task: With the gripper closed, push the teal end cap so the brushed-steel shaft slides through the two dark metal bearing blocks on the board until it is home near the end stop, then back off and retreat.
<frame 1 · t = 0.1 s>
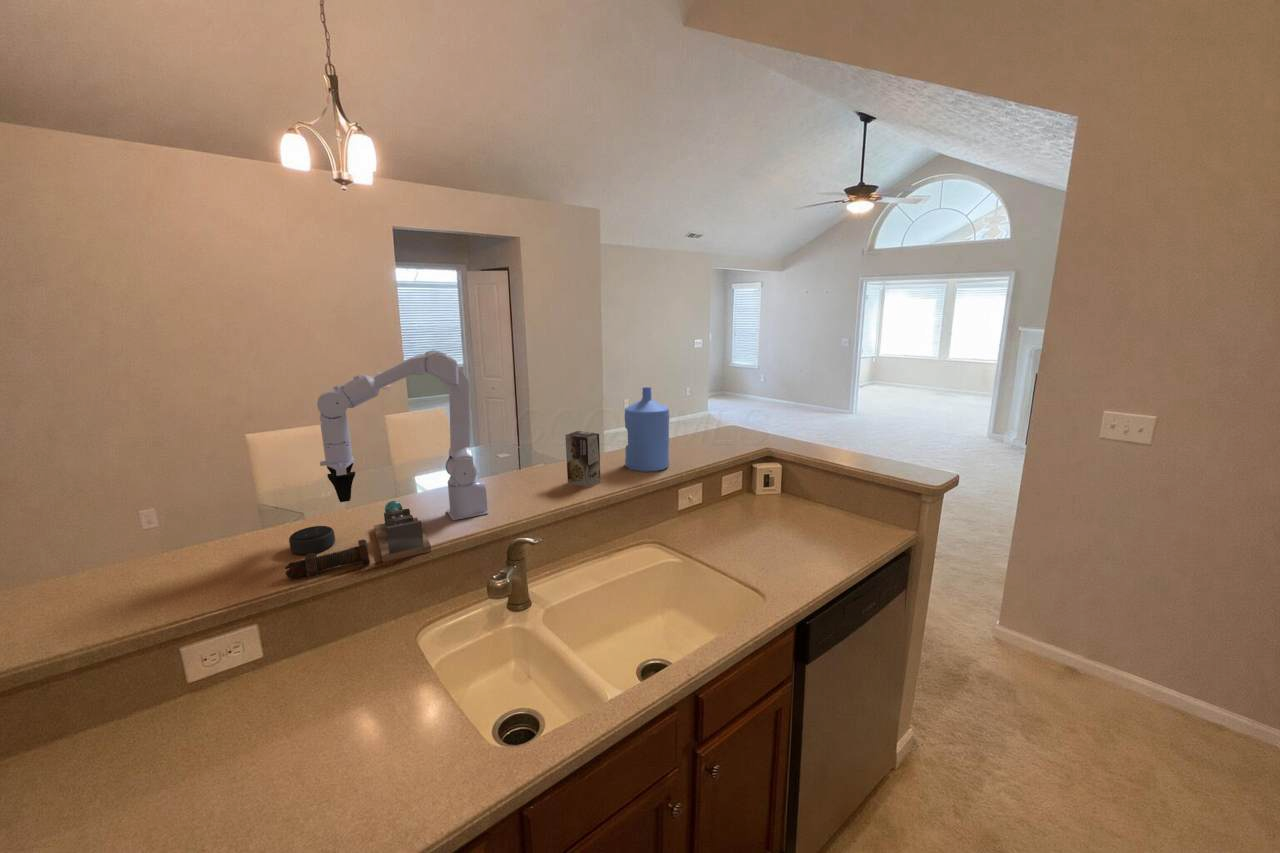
hand: (344, 496, 126), 10 cm above the worktop, tool pointing down, fingers open, 7 cm apart
shaft: (396, 517, 128), point 4 cm above the worktop, slide at 0.0 cm
bearing rig: (401, 540, 125), on the worktop
bolt: (330, 572, 110), on the worktop
coffee box: (584, 483, 167), on the worktop
water jug: (647, 466, 185), on the worktop
smart speaker: (313, 549, 121), on the worktop
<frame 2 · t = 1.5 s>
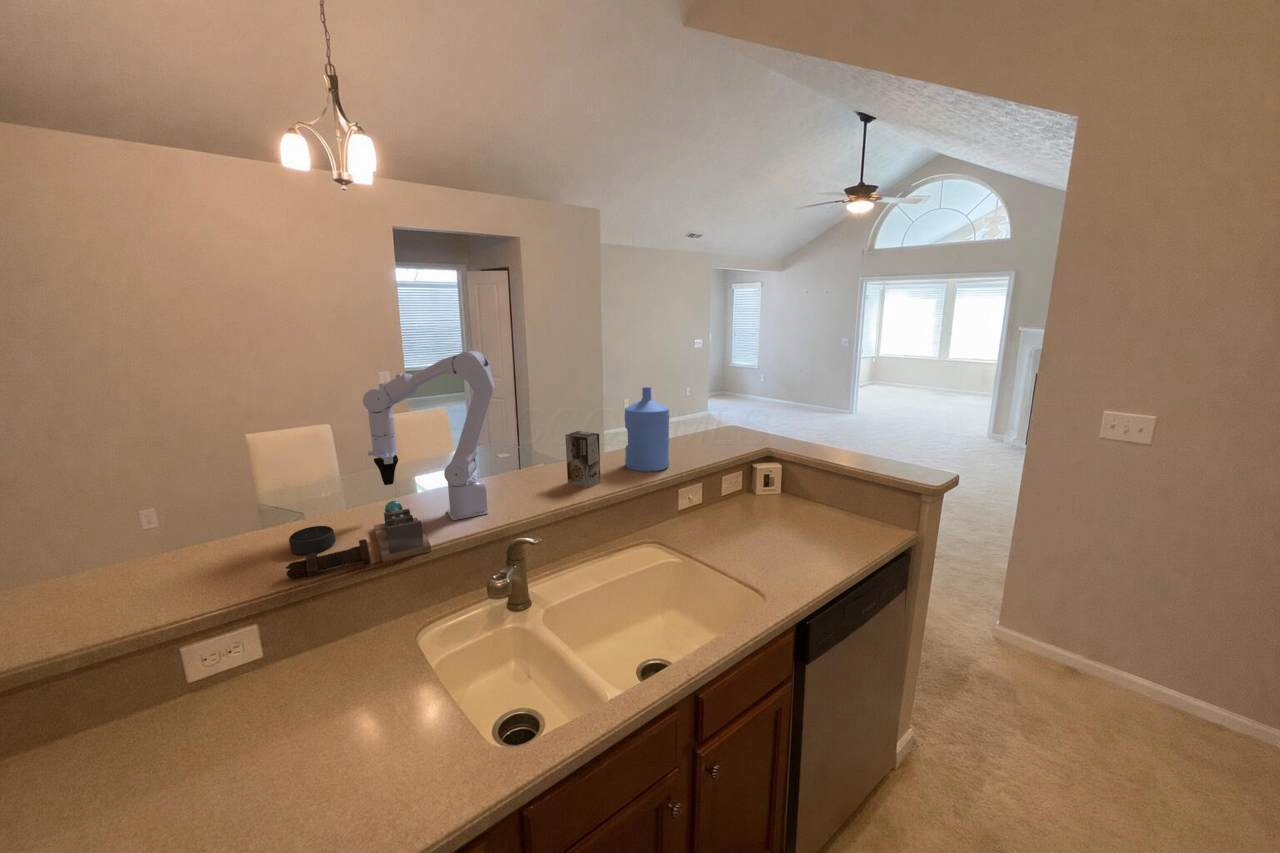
hand: (388, 484, 138), 9 cm above the worktop, tool pointing down, fingers closed
nothing on the worktop moved.
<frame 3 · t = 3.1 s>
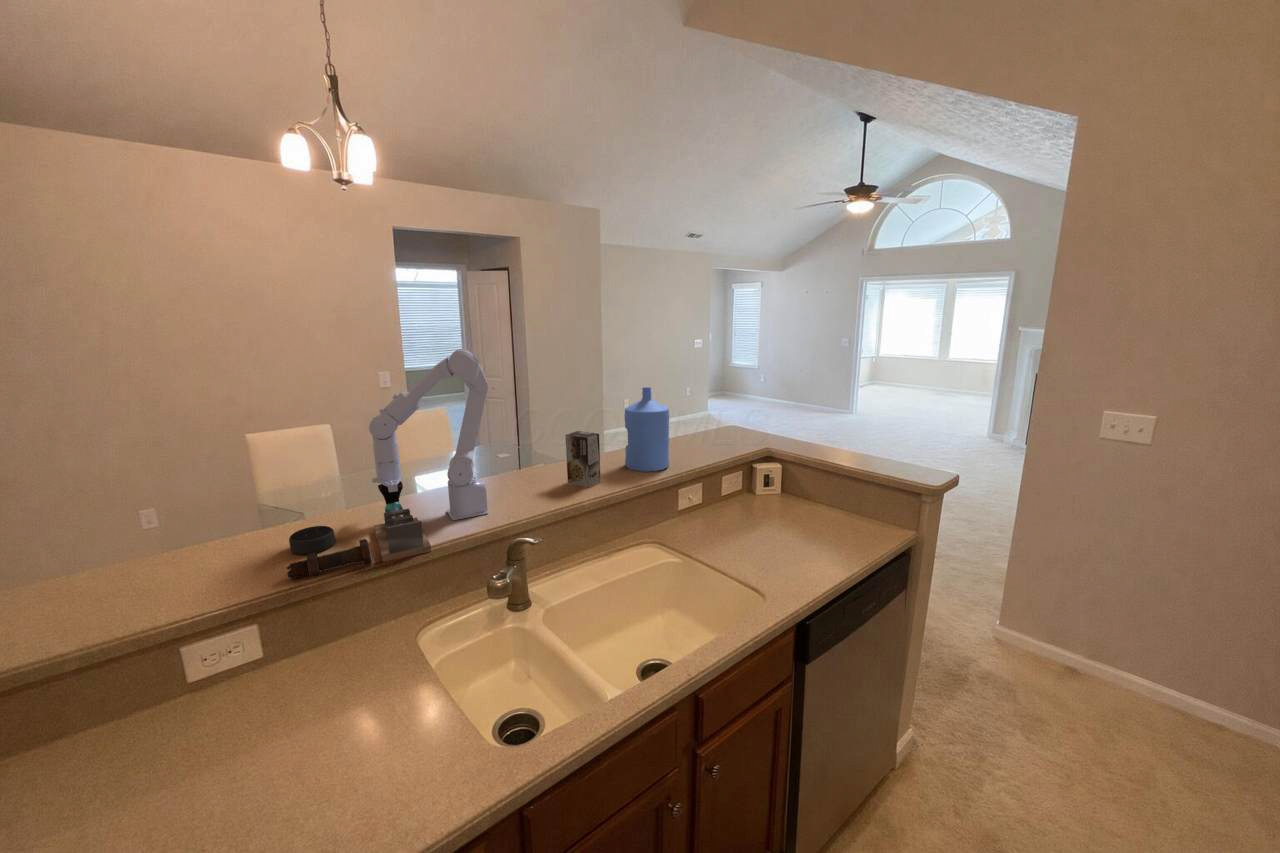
hand: (393, 510, 136), 3 cm above the worktop, tool pointing down, fingers closed
shaft: (397, 518, 128), point 4 cm above the worktop, slide at 0.2 cm, touching gripper
everything else where it was.
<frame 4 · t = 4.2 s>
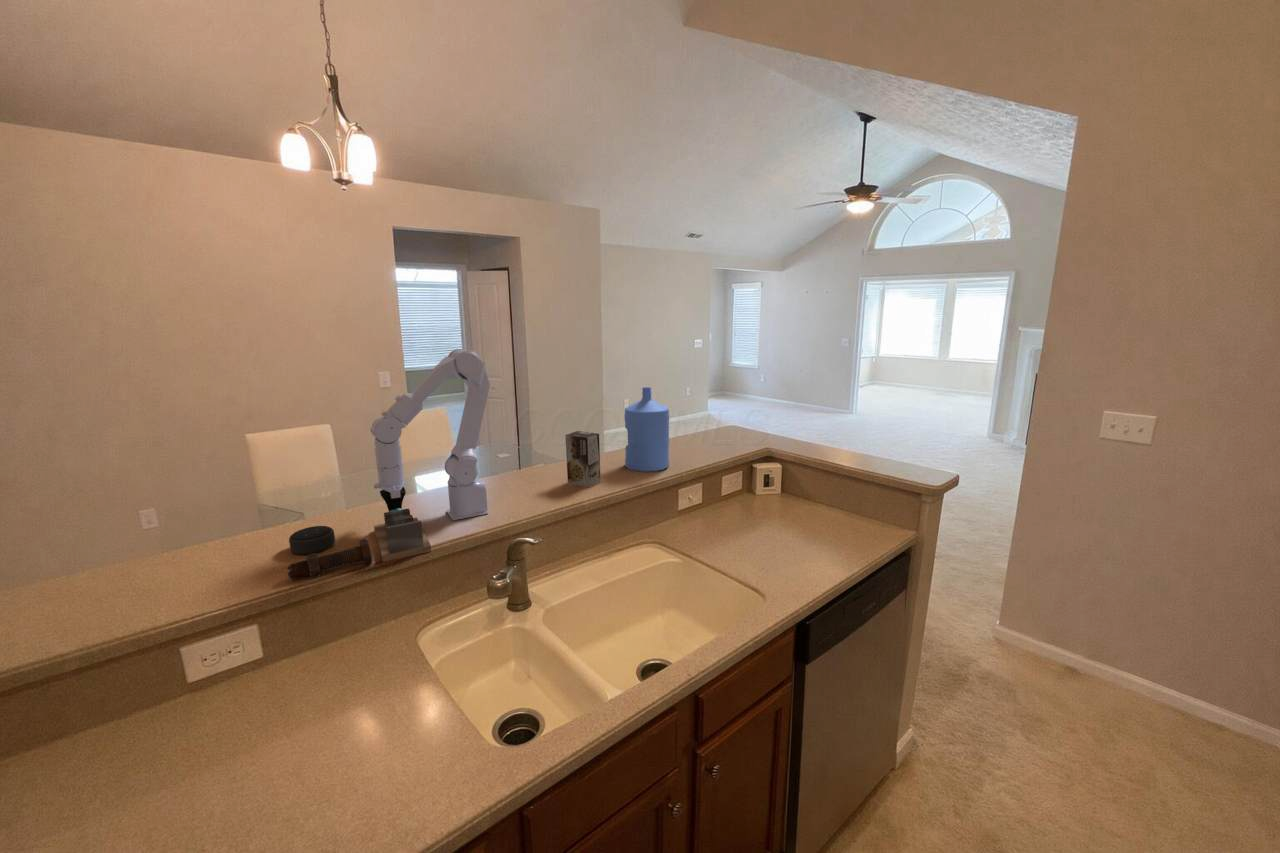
hand: (395, 517, 132), 3 cm above the worktop, tool pointing down, fingers closed
shaft: (399, 525, 124), point 4 cm above the worktop, slide at 5.6 cm, touching gripper
everything else where it was.
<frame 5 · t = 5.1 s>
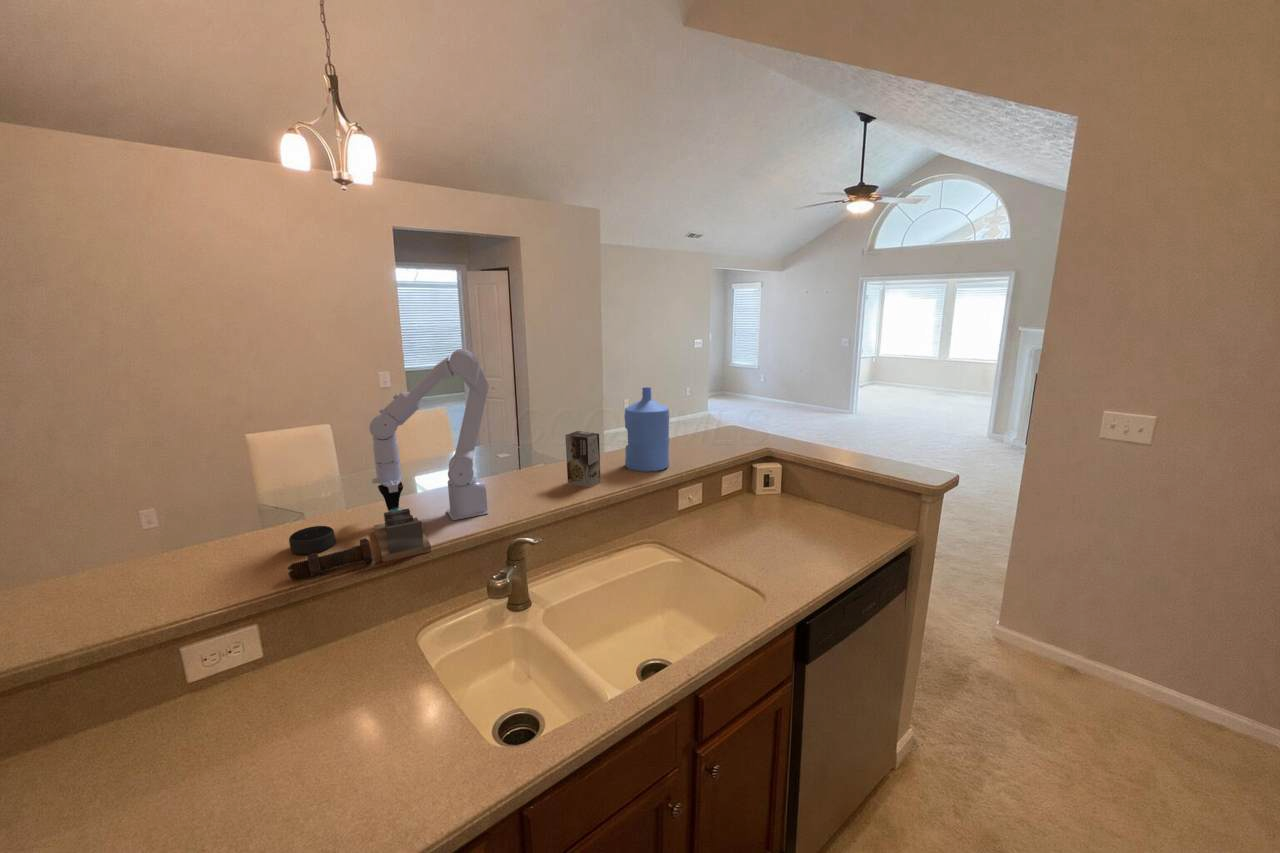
hand: (393, 511, 136), 3 cm above the worktop, tool pointing down, fingers closed
shaft: (400, 525, 124), point 4 cm above the worktop, slide at 5.6 cm
everything else where it was.
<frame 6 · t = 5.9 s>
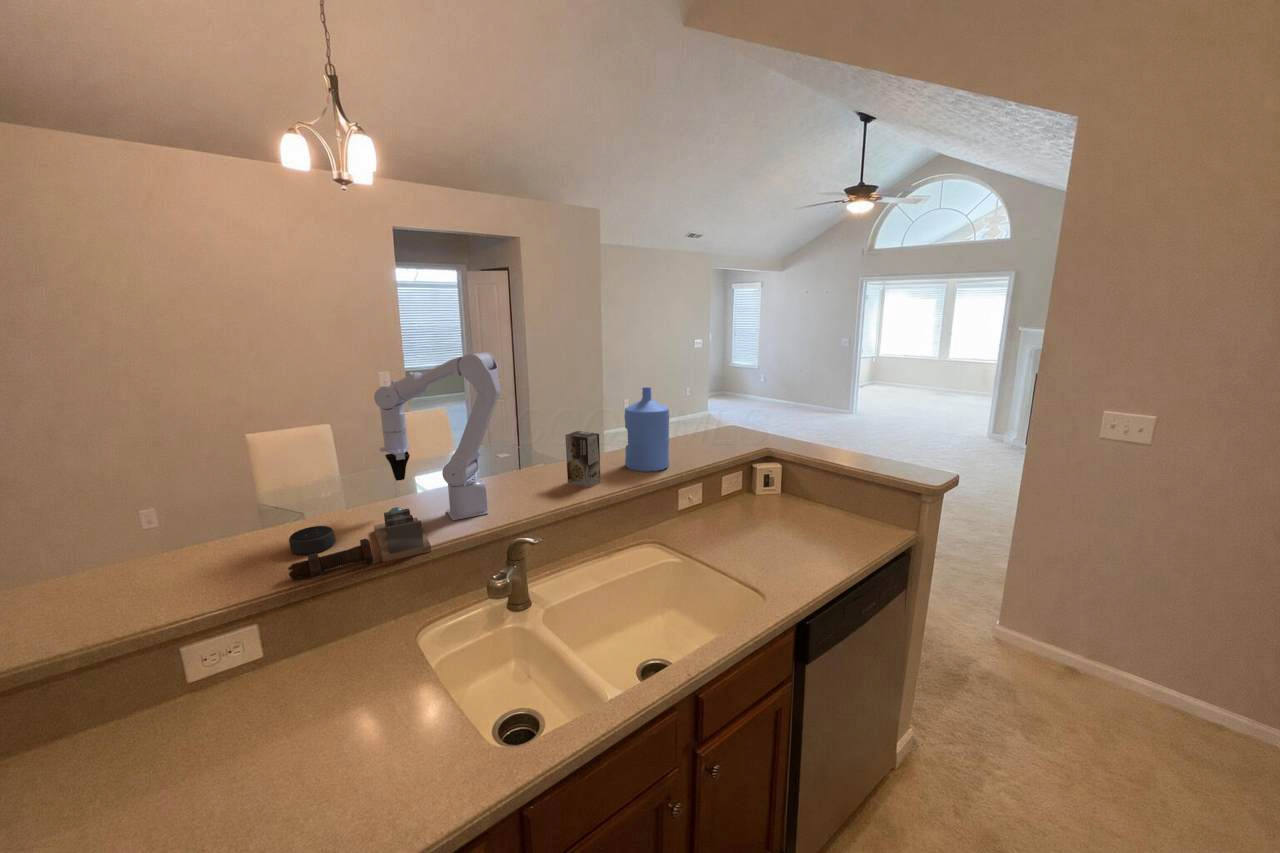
hand: (400, 479, 141), 9 cm above the worktop, tool pointing down, fingers closed
nothing on the worktop moved.
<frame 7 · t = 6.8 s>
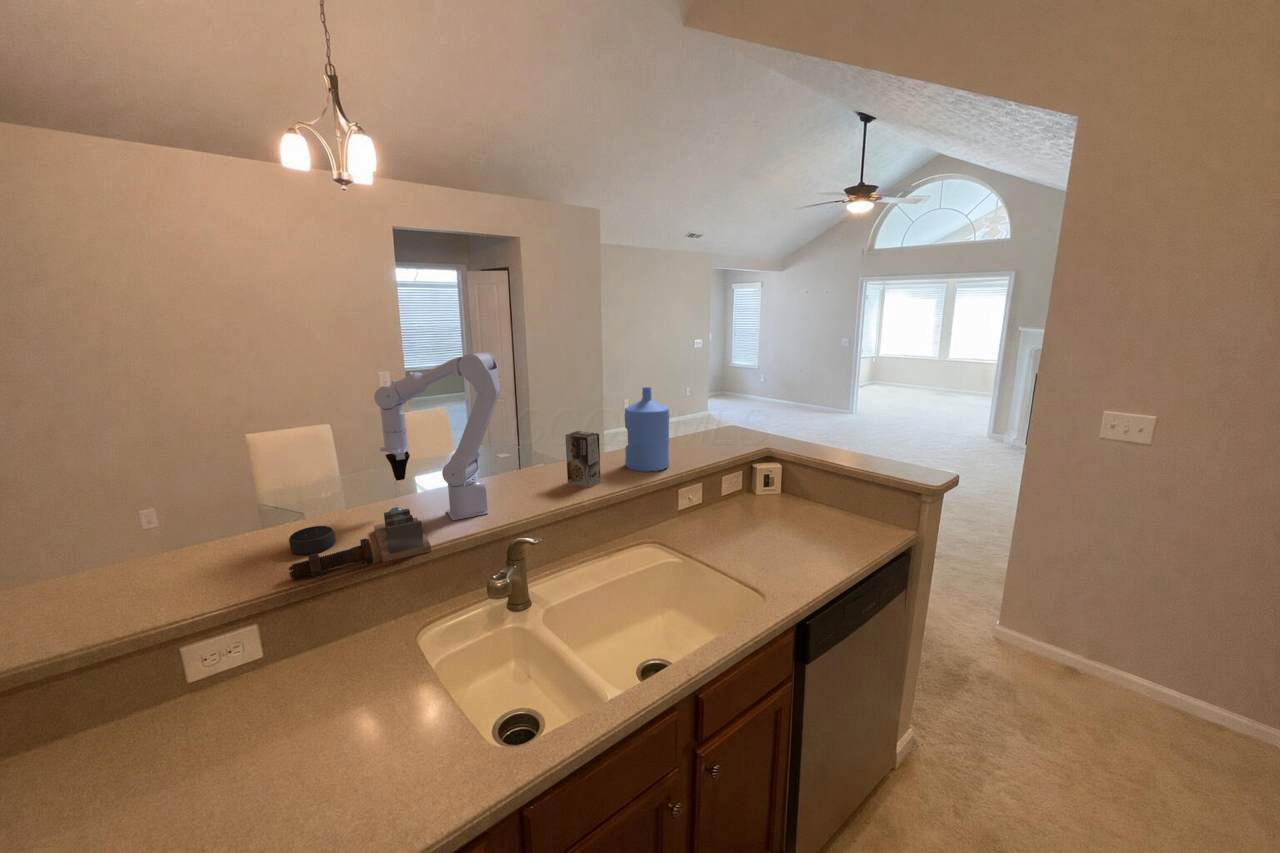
hand: (400, 479, 141), 9 cm above the worktop, tool pointing down, fingers closed
nothing on the worktop moved.
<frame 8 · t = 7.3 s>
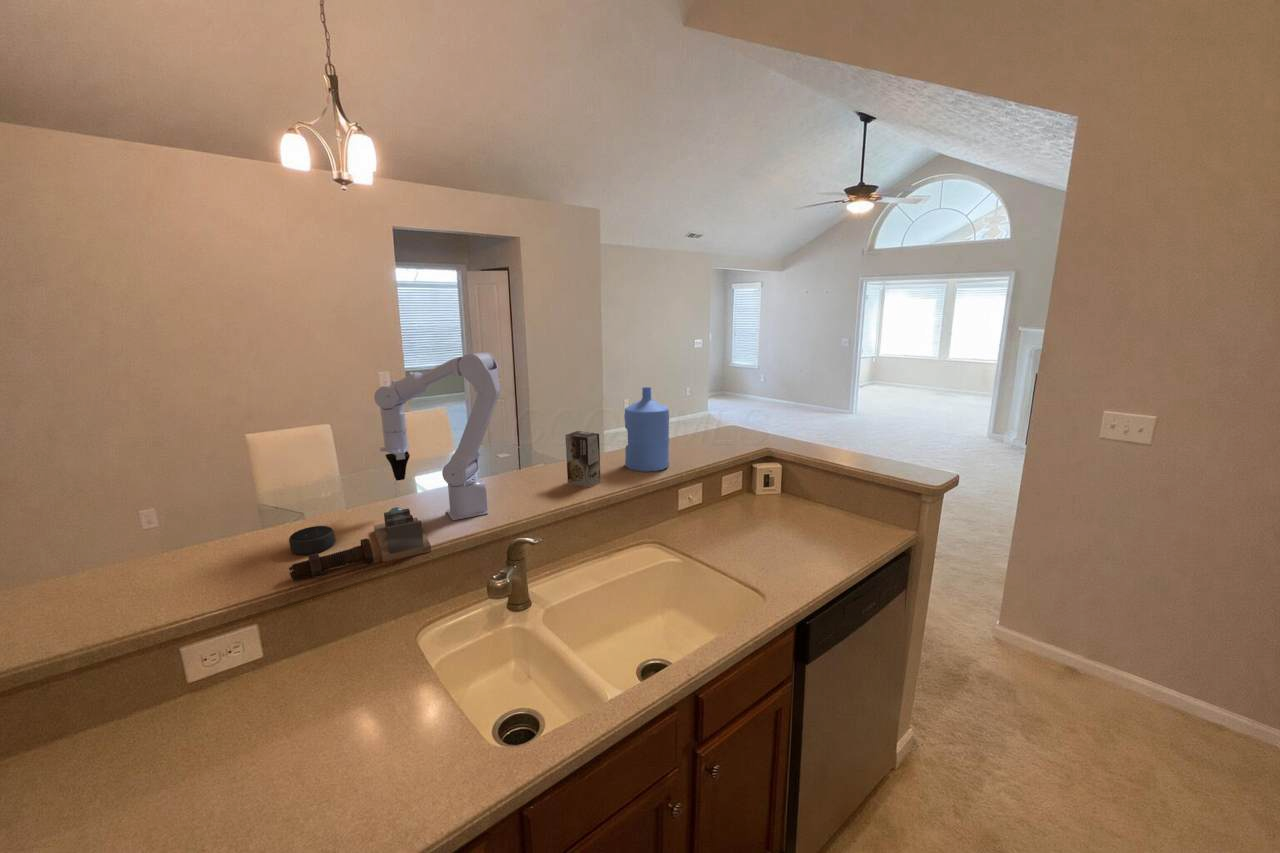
hand: (400, 479, 141), 9 cm above the worktop, tool pointing down, fingers closed
nothing on the worktop moved.
at the end: shaft slide at 5.6 cm; bolt moved 0.9 cm from its start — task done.
